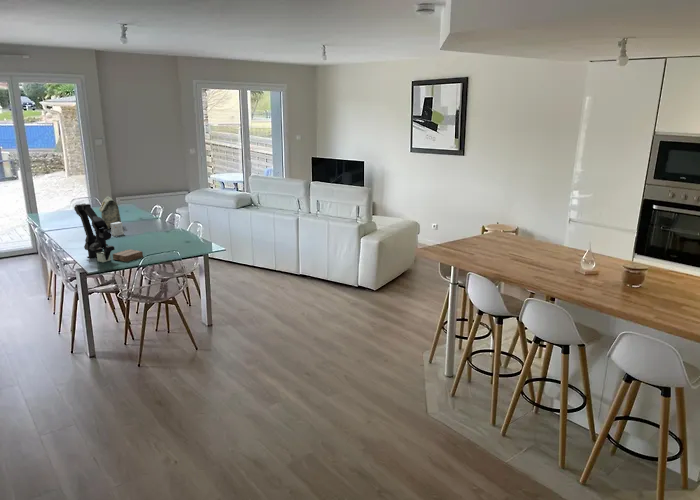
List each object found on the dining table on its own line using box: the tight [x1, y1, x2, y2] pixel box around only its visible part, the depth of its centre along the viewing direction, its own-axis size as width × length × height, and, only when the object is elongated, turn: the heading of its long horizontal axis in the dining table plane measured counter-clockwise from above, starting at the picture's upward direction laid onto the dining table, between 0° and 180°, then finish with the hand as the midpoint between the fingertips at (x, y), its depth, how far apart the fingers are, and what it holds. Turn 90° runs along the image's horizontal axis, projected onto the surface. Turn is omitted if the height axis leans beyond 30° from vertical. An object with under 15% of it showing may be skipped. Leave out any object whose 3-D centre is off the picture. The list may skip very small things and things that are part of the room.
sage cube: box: [96, 252, 112, 263], centre depth 357 cm, size 6×6×6 cm
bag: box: [98, 195, 122, 230], centre depth 463 cm, size 22×16×27 cm
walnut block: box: [112, 248, 144, 263], centre depth 363 cm, size 14×14×4 cm
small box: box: [110, 221, 125, 237], centre depth 434 cm, size 8×6×10 cm
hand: (104, 259), depth 358 cm, fingers closed on sage cube, 6 cm apart
